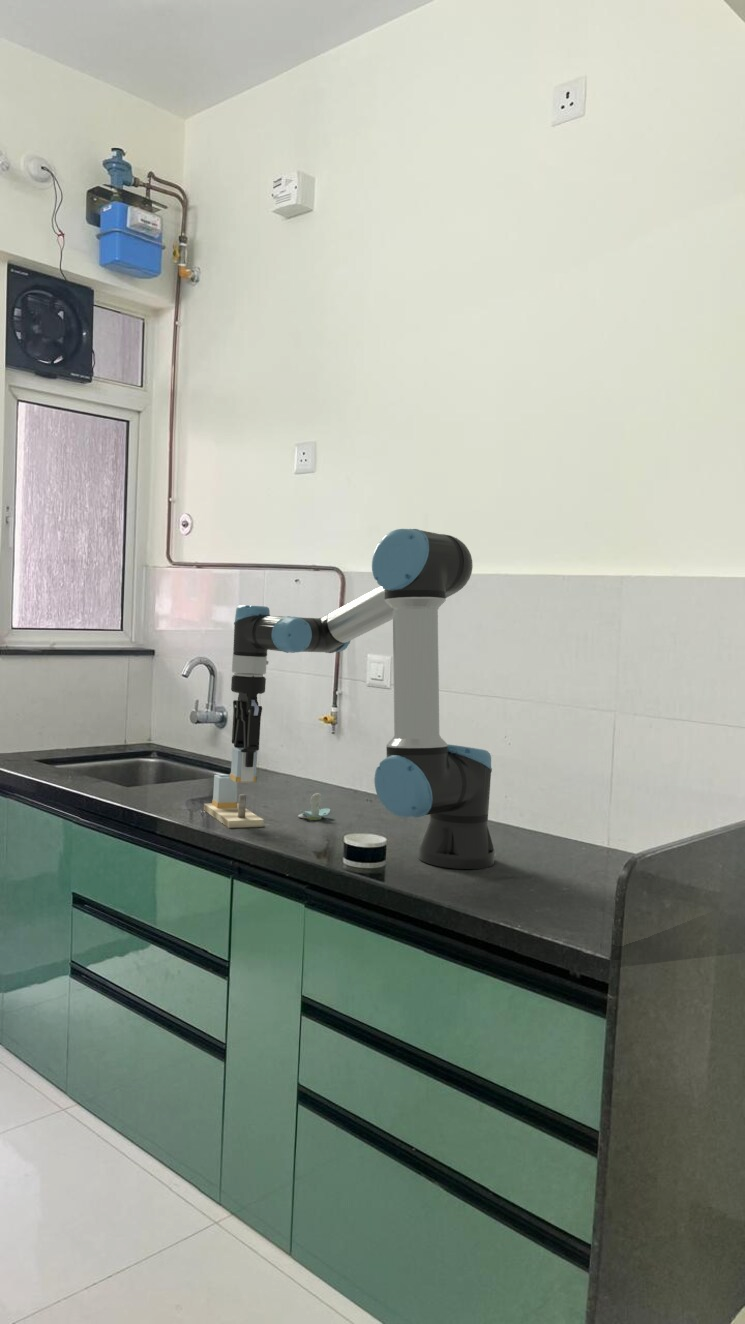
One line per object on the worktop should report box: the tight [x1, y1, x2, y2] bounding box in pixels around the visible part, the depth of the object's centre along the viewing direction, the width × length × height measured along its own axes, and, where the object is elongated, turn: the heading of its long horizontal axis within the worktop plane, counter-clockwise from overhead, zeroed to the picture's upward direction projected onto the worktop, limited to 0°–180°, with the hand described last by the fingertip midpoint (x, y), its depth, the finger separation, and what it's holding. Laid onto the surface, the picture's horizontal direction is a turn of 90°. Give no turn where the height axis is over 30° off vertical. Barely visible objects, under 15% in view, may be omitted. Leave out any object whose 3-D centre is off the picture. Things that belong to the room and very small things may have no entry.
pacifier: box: [297, 792, 331, 821], centre depth 236 cm, size 7×6×6 cm
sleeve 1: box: [211, 774, 239, 808], centre depth 237 cm, size 5×5×7 cm
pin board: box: [203, 793, 265, 829], centre depth 231 cm, size 20×8×6 cm, turn 25°
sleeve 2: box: [229, 747, 258, 783], centre depth 225 cm, size 5×5×7 cm
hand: (243, 779), depth 225 cm, fingers closed on sleeve 2, 5 cm apart
